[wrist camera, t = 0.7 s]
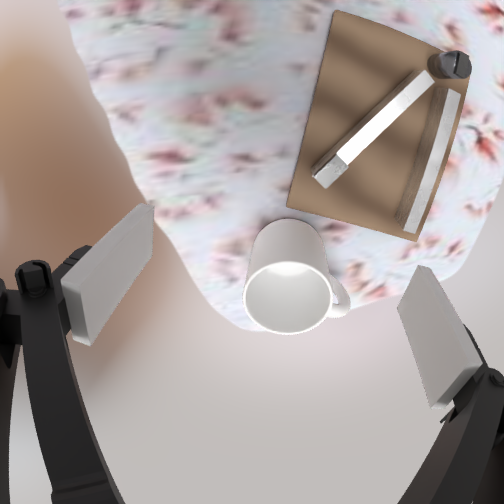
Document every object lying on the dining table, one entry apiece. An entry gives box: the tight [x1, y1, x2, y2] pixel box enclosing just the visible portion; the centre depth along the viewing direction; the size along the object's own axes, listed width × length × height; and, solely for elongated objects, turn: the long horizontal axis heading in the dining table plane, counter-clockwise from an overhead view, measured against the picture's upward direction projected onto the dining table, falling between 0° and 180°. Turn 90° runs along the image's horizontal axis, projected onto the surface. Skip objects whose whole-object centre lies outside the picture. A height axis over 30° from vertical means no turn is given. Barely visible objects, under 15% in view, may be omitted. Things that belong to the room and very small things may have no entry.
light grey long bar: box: [311, 70, 435, 189], centre depth 27 cm, size 16×2×4 cm, turn 138°
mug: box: [242, 219, 350, 335], centre depth 34 cm, size 12×8×10 cm
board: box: [286, 10, 470, 242], centre depth 30 cm, size 22×16×1 cm
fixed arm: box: [394, 51, 472, 234], centre depth 27 cm, size 19×3×5 cm, turn 168°
